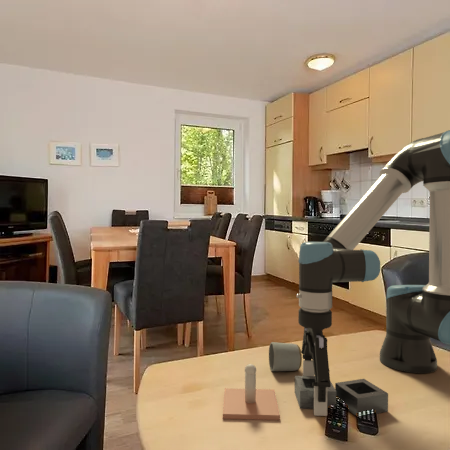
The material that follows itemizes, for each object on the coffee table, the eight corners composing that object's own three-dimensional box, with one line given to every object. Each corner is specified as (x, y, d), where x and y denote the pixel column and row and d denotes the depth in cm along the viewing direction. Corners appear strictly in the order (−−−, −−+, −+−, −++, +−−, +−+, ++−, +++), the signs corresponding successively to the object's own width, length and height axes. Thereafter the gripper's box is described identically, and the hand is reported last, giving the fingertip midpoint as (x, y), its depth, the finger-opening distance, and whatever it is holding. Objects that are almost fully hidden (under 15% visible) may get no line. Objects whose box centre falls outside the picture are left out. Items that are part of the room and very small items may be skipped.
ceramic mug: (303, 374, 101) (303, 346, 101) (273, 375, 101) (273, 347, 101) (292, 360, 112) (292, 335, 112) (265, 361, 111) (265, 335, 111)
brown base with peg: (274, 393, 90) (274, 355, 90) (279, 420, 78) (280, 375, 78) (224, 392, 91) (224, 354, 91) (222, 418, 79) (222, 374, 79)
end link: (327, 392, 91) (327, 376, 91) (336, 409, 83) (336, 391, 83) (294, 392, 91) (294, 375, 91) (300, 408, 83) (300, 390, 83)
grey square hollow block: (363, 395, 90) (364, 378, 90) (387, 411, 82) (388, 393, 82) (335, 400, 87) (335, 382, 87) (357, 417, 80) (357, 398, 80)
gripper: (291, 297, 99) (290, 376, 99) (308, 322, 74) (307, 429, 75) (319, 297, 99) (318, 377, 99) (347, 323, 74) (345, 430, 74)
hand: (313, 399), depth 87 cm, fingers open, 13 cm apart
